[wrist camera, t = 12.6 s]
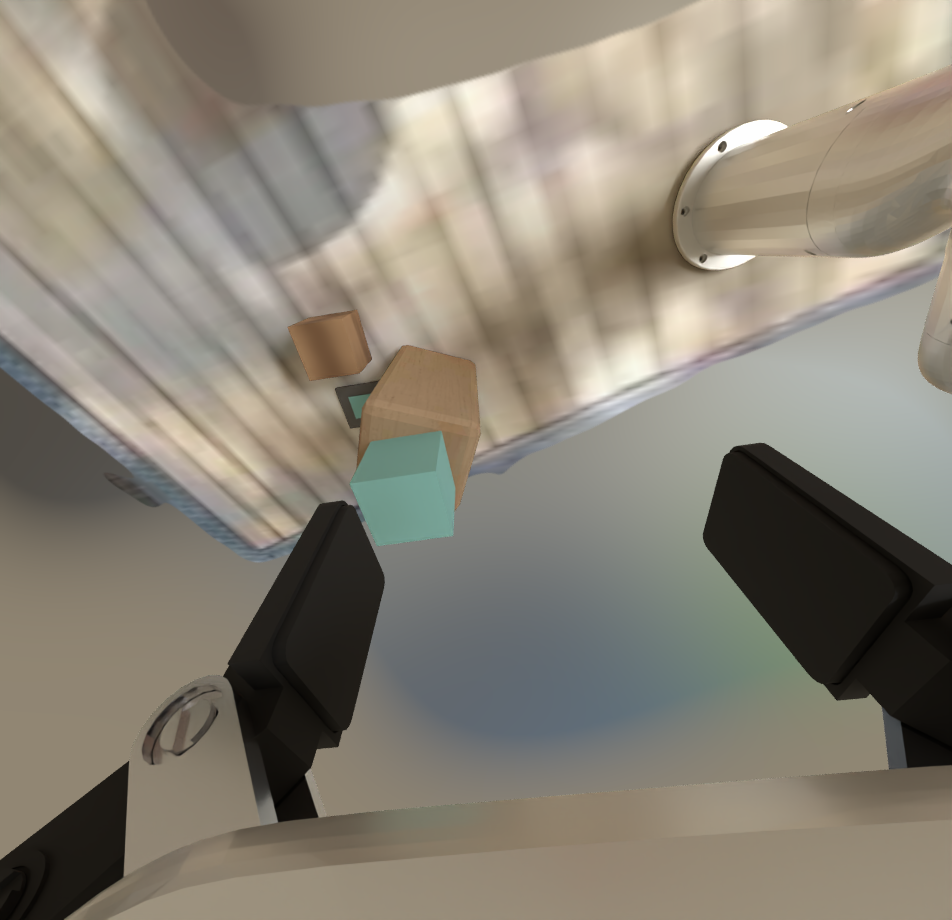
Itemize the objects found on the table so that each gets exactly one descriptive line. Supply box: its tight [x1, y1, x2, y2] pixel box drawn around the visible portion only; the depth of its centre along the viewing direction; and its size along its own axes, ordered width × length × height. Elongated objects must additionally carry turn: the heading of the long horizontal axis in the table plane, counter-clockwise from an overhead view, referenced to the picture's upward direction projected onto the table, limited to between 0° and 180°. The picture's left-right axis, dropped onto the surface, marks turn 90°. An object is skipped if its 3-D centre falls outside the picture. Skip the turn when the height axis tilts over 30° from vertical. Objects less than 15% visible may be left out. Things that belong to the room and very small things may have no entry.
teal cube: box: [350, 431, 455, 546], centre depth 27 cm, size 6×6×6 cm
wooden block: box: [356, 345, 481, 511], centre depth 38 cm, size 10×10×20 cm
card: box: [335, 381, 379, 428], centre depth 48 cm, size 6×6×1 cm
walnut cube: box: [288, 310, 372, 381], centre depth 41 cm, size 6×6×6 cm
